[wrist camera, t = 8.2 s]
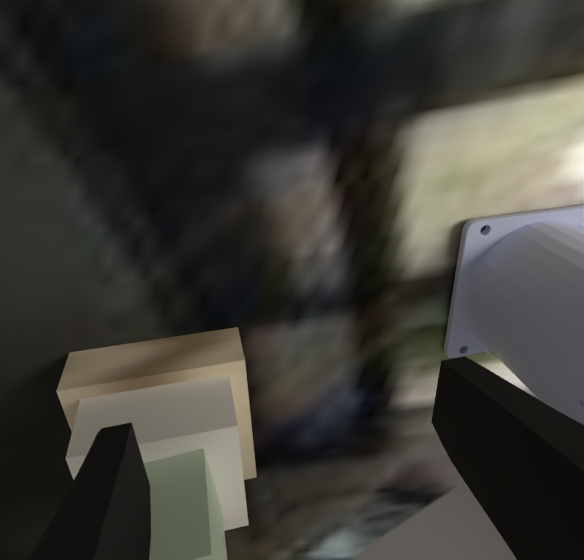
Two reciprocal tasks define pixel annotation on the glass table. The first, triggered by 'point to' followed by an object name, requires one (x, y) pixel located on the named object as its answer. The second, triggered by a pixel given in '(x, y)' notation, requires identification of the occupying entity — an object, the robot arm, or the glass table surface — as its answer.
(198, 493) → the block
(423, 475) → the glass table surface
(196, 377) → the slab bottom
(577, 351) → the robot arm
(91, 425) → the slab top
